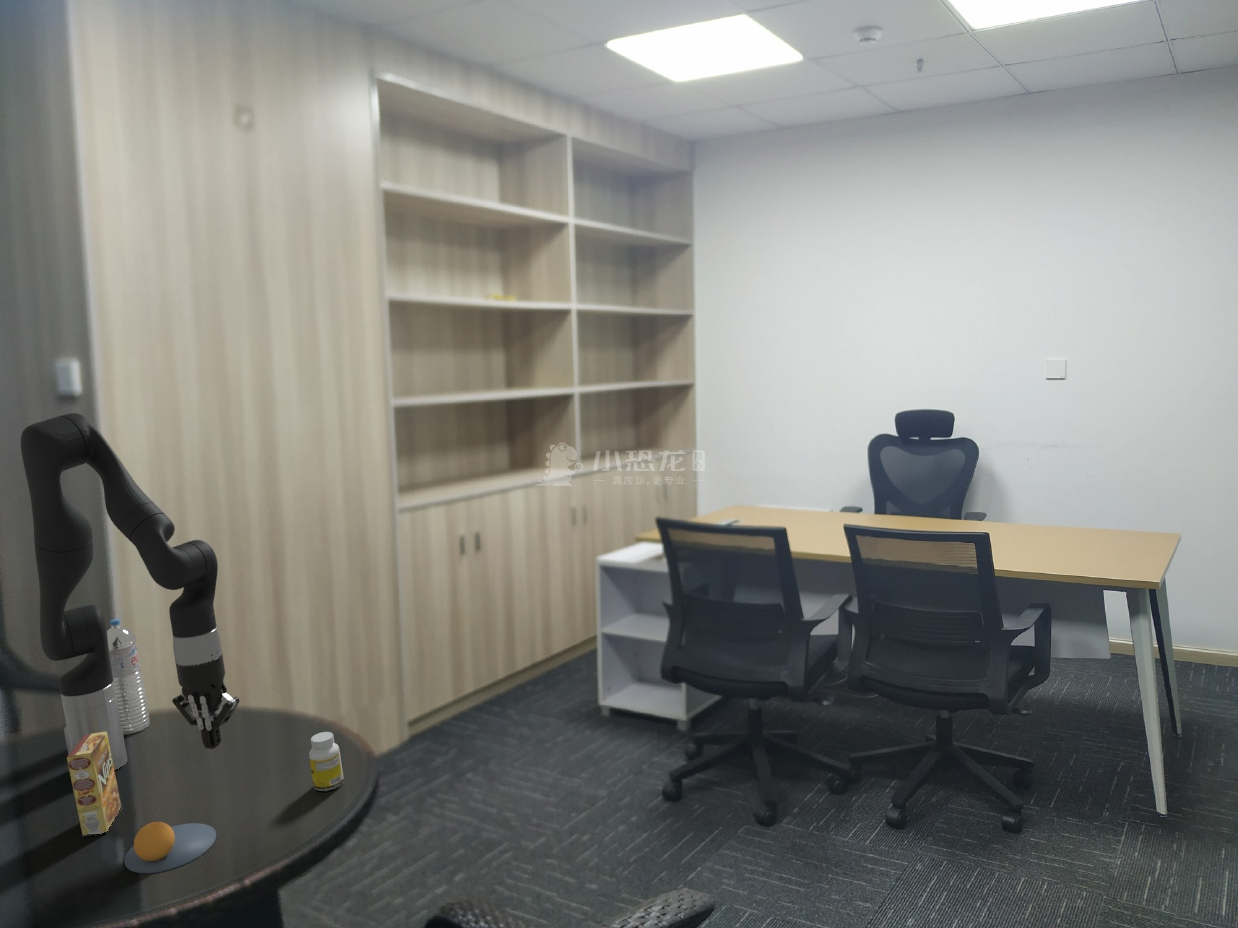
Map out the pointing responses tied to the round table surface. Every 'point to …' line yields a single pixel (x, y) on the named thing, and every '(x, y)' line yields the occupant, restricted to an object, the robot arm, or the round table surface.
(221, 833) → the round table surface
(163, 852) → the ball
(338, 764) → the supplement bottle
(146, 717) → the water bottle
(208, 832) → the blue-grey plate
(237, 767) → the round table surface
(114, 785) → the candy box
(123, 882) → the round table surface
